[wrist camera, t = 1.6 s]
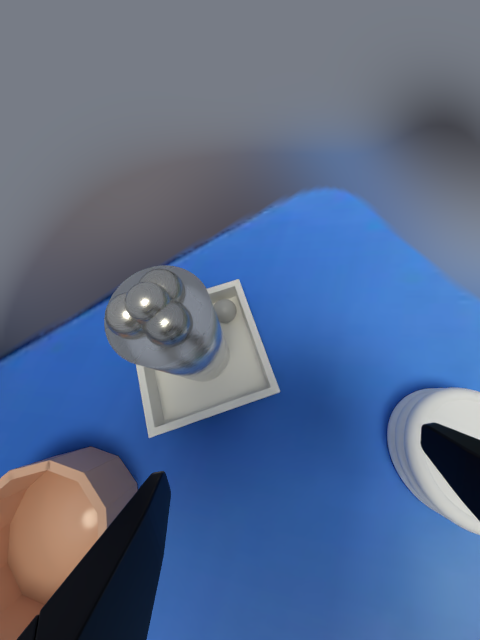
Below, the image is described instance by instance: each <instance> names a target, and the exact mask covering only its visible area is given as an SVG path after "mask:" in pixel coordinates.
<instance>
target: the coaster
mask: <svg viewBox="0 0 480 640" xmlns="http://www.w3.org/2000/svg"><path fill="white" fill-rule="evenodd" d="M427 423H438V424H441V425H443V426H446V427H449V428H451V429H454V430H456V431H459V432H461V433H464V434H466V435H469V436H471V437H474V438H477V439H479V440H480V392H478V391H474V390H470V389H466V388H452V387H451V388H428V389H422V390H418V391H415V392H413V393H411V394H409V395H407V396H406V397H404V398H403V399H402V400H401V401H400V402H399V403H398V404H397V405H396V407H395V408H394V410H393V412H392V414H391V416H390V419H389V422H388V428H387V442H388V448H389V453H390V456H391V459H392V462H393V464H394V466H395V469H396V470H397V472H398V474H399V476H400V478H401V479H402V480H403V482H404V483H405V485H406V486H407V487H408V488H409V490H410V491H411V492H412V493H413V494H414V495H415V496H416V497H417V498H418V499H419V500H420V501H421V502H422V503H424V504H425V505H426V506H428V507H429V508H431V509H432V510H434V511H435V512H437V513H439V514H440V515H442V516H444V517H445V518H447V519H449V520H450V521H452V522H453V523H455V524H456V525H458V526H460V527H461V528H463V529H466V530H468V531H470V532H472V533H475V534H478V535H480V521H479V520H478V519H477V518H476V517H475V516H474V514H473V513H472V512H471V511H470V510H469V509H468V508H467V506H466V505H465V504H464V503H463V502H462V501H461V499H460V498H459V497H458V496H457V494H456V493H455V492H454V490H453V489H452V488H451V487H450V485H449V484H448V483H447V481H446V480H445V479H444V477H443V476H442V475H441V473H440V472H439V471H438V470H437V468H436V467H435V466H434V464H433V463H432V462H431V460H430V459H429V458H428V456H427V455H426V454H425V452H424V451H423V449H422V447H421V444H420V440H421V427H422V425H423V424H427Z"/></svg>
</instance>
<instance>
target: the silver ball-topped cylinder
mask: <svg viewBox="0 0 480 640" xmlns="http://www.w3.org/2000/svg"><path fill="white" fill-rule="evenodd" d="M104 325H105V332H106V336H107V339H108V341H109V343H110V345H111V346H112V348H113V349H114V350H115V351H116V353H117V354H118V355H120V356H121V357H122V358H124V359H125V360H127V361H129V362H131V363H134V364H137V365H140V366H144V367H147V368H151V369H155V370H158V371H162V372H166V373H169V374H173V375H176V376H180V377H184V378H187V379H191V380H194V381H199V382H205V381H210V380H213V379H215V378H216V377H218V376H219V375H220V374H222V372H223V371H224V370H225V368H226V367H227V365H228V362H229V357H230V351H229V347H228V344H227V341H226V338H225V336H224V333H223V330H222V328H221V325H220V323H219V320H218V317H217V315H216V312H215V309H214V307H213V304H212V301H211V299H210V296H209V294H208V291H207V289H206V287H205V286H204V284H203V283H202V282H201V281H200V280H199V278H197V277H196V276H195V275H194V274H192V273H191V272H189V271H187V270H185V269H182V268H179V267H174V266H155V267H151V268H147V269H144V270H141V271H139V272H137V273H135V274H133V275H132V276H130V277H129V278H128V279H126V280H125V281H124V282H123V283H122V284H121V285H120V286H119V287H118V288H117V289H116V291H115V292H114V293H113V295H112V297H111V299H110V301H109V303H108V305H107V308H106V311H105V323H104Z"/></svg>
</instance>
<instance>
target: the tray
mask: <svg viewBox="0 0 480 640" xmlns="http://www.w3.org/2000/svg"><path fill="white" fill-rule="evenodd" d="M207 291H208V294H209V296H210V299H211V301H212V304H213V306H214V304H215V303H216V302H217V301H218V300H221V299H228V300H231V301H232V302H233V303H234V304H235V306H236V309H237V312H236V316H235V318H234V319H233V320H232V321H230V322H227V323H222V322H219V323H220V325H221V328H222V330H223V333H224V336H225V338H226V341H227V344H228V347H229V351H230V357H229V362H228V365H227V367H226V368H225V370H224V371H223V372H222V374H220V375H219V376H218V377H216V378H215V379H213V380H210V381H205V382H199V381H194V380H191V379H187V378H184V377H180V376H176V375H173V374H169V373H166V372H162V371H158V370H155V369H151V368H147V367H144V366H140V365H137V364H136V367H137V373H138V379H139V384H140V390H141V396H142V402H143V408H144V413H145V419H146V425H147V431H148V436H149V438H151V437H153V436H156V435H159V434H162V433H165V432H168V431H171V430H173V429H176V428H179V427H182V426H185V425H188V424H191V423H193V422H196V421H199V420H202V419H205V418H208V417H211V416H213V415H216V414H219V413H222V412H225V411H228V410H231V409H233V408H236V407H239V406H242V405H245V404H248V403H251V402H253V401H256V400H259V399H262V398H265V397H268V396H271V395H273V394H276V393H279V392H280V389H279V387H278V384H277V381H276V379H275V376H274V373H273V371H272V368H271V365H270V362H269V360H268V357H267V354H266V352H265V349H264V346H263V343H262V341H261V338H260V335H259V333H258V330H257V327H256V324H255V322H254V319H253V316H252V314H251V311H250V308H249V305H248V303H247V300H246V297H245V295H244V292H243V289H242V287H241V284H240V281H239V279H237V280H234V281H231V282H228V283H224V284H221V285H218V286H215V287H211V288H208V289H207Z"/></svg>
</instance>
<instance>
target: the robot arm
mask: <svg viewBox="0 0 480 640" xmlns="http://www.w3.org/2000/svg"><path fill="white" fill-rule="evenodd" d="M420 444H421V447H422V449H423V451H424V452H425V454H426V455H427V456H428V458H429V459H430V460H431V462H432V463H433V464H434V466H435V467H436V468H437V470H438V471H439V472H440V473H441V475H442V476H443V477H444V479H445V480H446V481H447V483H448V484H449V485H450V487H451V488H452V489H453V490H454V492H455V493H456V494H457V496H458V497H459V498H460V499H461V501H462V502H463V503H464V504H465V505H466V506H467V508H468V509H469V510H470V511H471V512H472V513H473V514H474V516H475V517H476V518H477V519H478V520H479V521H480V440H479V439H477V438H474V437H471V436H469V435H466V434H464V433H461V432H459V431H456V430H454V429H451V428H449V427H446V426H443V425H441V424H438V423H427V424H423V425H422V427H421V440H420ZM170 499H171V491H170V486H169V483H168V480H167V476H166V473H165V472H164V471H160V472H155V473H152V474H151V475H150V476H149V477H148V478H147V480H146V481H145V482H144V483H143V485H142V486H141V487H140V488H139V489H138V491H137V492H136V493H135V494H134V496H133V497H132V498H131V499H130V501H129V502H128V503H127V504H126V505H125V507H124V508H123V509H122V510H121V512H120V513H119V514H118V515H117V517H116V518H115V519H114V520H113V521H112V523H111V524H110V525H109V526H108V528H107V529H106V530H105V531H104V532H103V534H102V535H101V536H100V537H99V539H98V540H97V541H96V542H95V544H94V545H93V546H92V547H91V548H90V550H89V551H88V552H87V553H86V555H85V556H84V557H83V558H82V560H81V561H80V562H79V563H78V564H77V566H76V567H75V568H74V569H73V571H72V572H71V573H70V574H69V576H68V577H67V578H66V579H65V580H64V582H63V583H62V584H61V585H60V587H59V588H58V589H57V590H56V592H55V593H54V594H53V595H52V596H51V598H50V599H49V600H48V601H47V603H46V604H45V605H44V606H43V608H42V609H41V610H40V613H39V614H38V615H36V616H35V617H34V618H33V620H32V621H31V622H30V623H29V625H28V626H27V627H26V628H25V629H24V631H23V632H22V633H21V634H20V636H19V637H18V638H17V639H16V640H146V639H147V634H148V629H149V624H150V620H151V615H152V610H153V605H154V600H155V595H156V591H157V586H158V581H159V576H160V571H161V566H162V561H163V555H164V548H165V540H166V532H167V523H168V515H169V507H170Z"/></svg>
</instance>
